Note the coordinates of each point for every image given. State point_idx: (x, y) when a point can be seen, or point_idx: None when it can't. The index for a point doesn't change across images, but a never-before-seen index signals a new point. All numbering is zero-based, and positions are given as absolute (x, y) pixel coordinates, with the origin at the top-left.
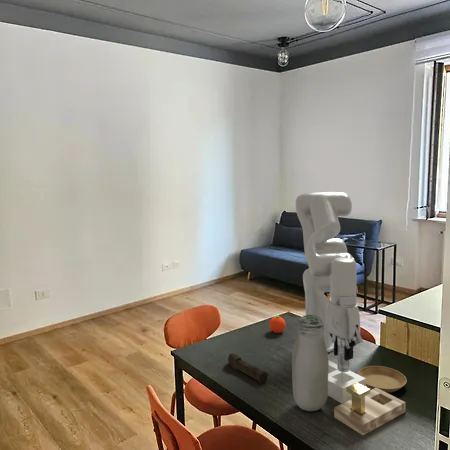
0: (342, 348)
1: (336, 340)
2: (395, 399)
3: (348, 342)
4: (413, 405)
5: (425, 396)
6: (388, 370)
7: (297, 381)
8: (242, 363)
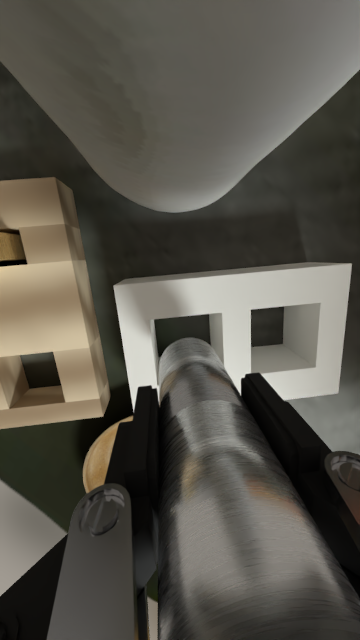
0: (184, 449)
1: (329, 505)
2: (9, 417)
3: (57, 614)
4: (25, 448)
5: (49, 501)
6: None
7: None
8: None
